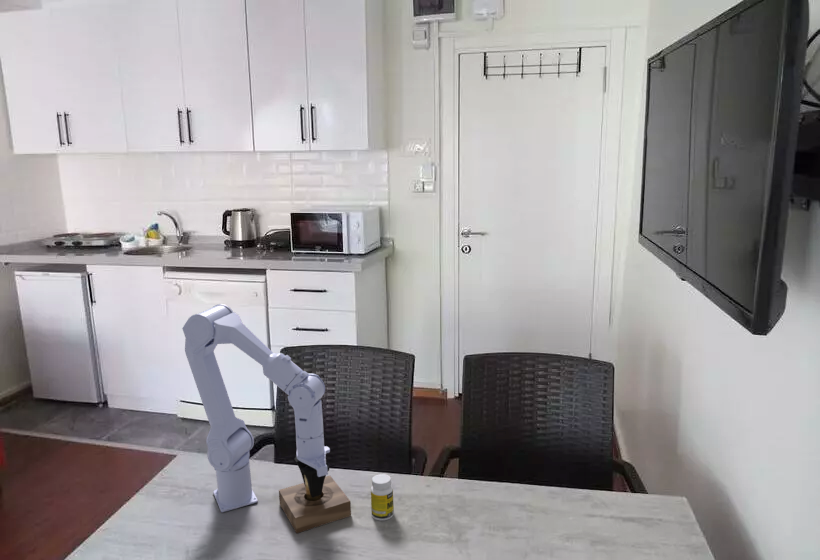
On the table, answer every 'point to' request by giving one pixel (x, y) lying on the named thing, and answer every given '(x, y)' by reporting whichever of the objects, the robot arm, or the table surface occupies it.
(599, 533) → the table surface
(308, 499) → the brass peg
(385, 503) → the supplement bottle
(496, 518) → the table surface
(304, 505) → the socket block
